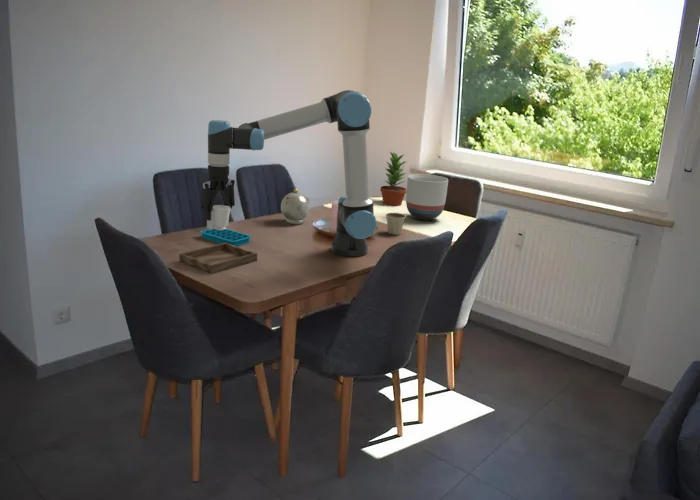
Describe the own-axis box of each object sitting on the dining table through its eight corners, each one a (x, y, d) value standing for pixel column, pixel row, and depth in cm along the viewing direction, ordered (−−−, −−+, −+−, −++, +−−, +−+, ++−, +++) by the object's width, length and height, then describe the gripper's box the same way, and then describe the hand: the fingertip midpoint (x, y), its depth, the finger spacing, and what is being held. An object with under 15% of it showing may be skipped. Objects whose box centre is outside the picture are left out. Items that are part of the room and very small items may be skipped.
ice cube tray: (218, 233, 260) (218, 226, 259) (253, 243, 249) (253, 236, 249) (198, 238, 251) (198, 231, 250) (233, 249, 240) (233, 242, 239)
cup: (217, 231, 214) (218, 209, 212) (202, 225, 221) (202, 203, 219) (233, 229, 219) (234, 208, 217) (218, 223, 226) (219, 202, 223)
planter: (403, 212, 317) (406, 172, 311) (441, 215, 317) (446, 175, 310) (404, 222, 298) (408, 180, 291) (445, 225, 297) (450, 183, 291)
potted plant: (411, 205, 334) (416, 152, 325) (388, 207, 327) (393, 152, 318) (396, 199, 346) (400, 148, 337) (374, 201, 339) (378, 148, 330)
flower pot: (393, 237, 271) (395, 218, 269) (379, 231, 278) (381, 213, 275) (408, 234, 277) (410, 216, 274) (394, 229, 284) (396, 211, 281)
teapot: (296, 228, 274) (297, 193, 269) (273, 222, 281) (274, 188, 276) (319, 221, 289) (321, 188, 284) (297, 216, 296) (298, 183, 291)
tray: (257, 260, 227) (257, 253, 226) (211, 274, 210) (211, 266, 209) (225, 249, 237) (225, 242, 237) (179, 261, 221) (179, 253, 220)
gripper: (232, 161, 223) (231, 220, 229) (189, 165, 208) (189, 229, 214) (246, 164, 218) (244, 224, 225) (203, 168, 203) (203, 233, 210)
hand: (217, 226), depth 220 cm, fingers closed on cup, 6 cm apart
